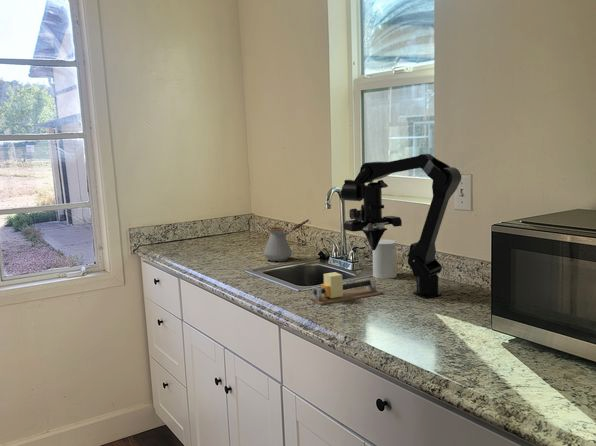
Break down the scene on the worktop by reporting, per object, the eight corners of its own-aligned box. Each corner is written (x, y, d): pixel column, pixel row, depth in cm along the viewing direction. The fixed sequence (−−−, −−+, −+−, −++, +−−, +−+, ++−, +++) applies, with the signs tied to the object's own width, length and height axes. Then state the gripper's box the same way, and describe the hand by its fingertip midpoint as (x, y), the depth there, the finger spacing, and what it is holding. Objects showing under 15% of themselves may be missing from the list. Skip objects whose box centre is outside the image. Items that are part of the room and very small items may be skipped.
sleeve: (342, 296, 172) (342, 274, 171) (331, 298, 170) (330, 276, 169) (335, 292, 176) (335, 272, 175) (324, 294, 174) (323, 273, 173)
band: (330, 296, 170) (329, 285, 170) (326, 296, 170) (326, 286, 169) (325, 293, 173) (324, 283, 173) (321, 294, 173) (321, 284, 172)
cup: (396, 278, 194) (395, 244, 192) (372, 278, 195) (371, 244, 194) (397, 273, 202) (396, 239, 200) (373, 272, 203) (373, 239, 202)
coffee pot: (271, 264, 224) (270, 226, 222) (259, 259, 234) (257, 223, 232) (318, 256, 234) (317, 220, 232) (304, 252, 244) (303, 217, 242)
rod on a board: (380, 294, 175) (380, 281, 175) (320, 305, 166) (320, 291, 166) (366, 288, 183) (366, 276, 182) (308, 298, 174) (307, 285, 173)
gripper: (382, 197, 192) (383, 243, 194) (334, 202, 184) (335, 249, 186) (402, 200, 182) (403, 248, 184) (352, 205, 174) (353, 255, 176)
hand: (373, 250), depth 183 cm, fingers closed
